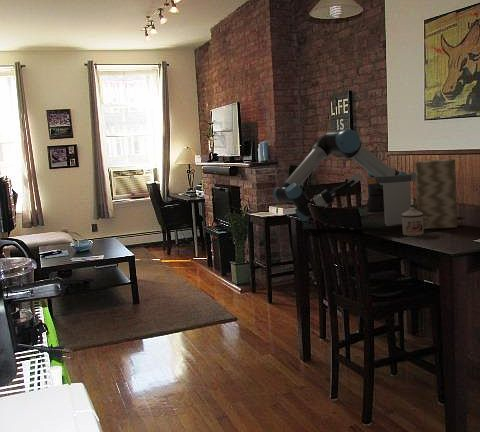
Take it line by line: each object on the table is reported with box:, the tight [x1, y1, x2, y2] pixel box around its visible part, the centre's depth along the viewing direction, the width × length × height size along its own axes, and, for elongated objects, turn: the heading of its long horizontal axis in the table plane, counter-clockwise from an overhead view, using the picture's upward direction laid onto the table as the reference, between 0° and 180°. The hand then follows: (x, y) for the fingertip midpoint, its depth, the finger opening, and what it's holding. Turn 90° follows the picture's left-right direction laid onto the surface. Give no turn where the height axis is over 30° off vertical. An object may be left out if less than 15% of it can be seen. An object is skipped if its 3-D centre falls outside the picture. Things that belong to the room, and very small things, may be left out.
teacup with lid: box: [401, 207, 430, 237], centre depth 226 cm, size 12×9×12 cm
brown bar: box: [366, 171, 416, 185], centre depth 252 cm, size 24×8×4 cm, turn 76°
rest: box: [383, 181, 412, 227], centre depth 254 cm, size 12×10×20 cm
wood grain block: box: [414, 158, 458, 230], centre depth 237 cm, size 16×9×30 cm, turn 76°
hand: (360, 175), depth 256 cm, fingers open, 13 cm apart
